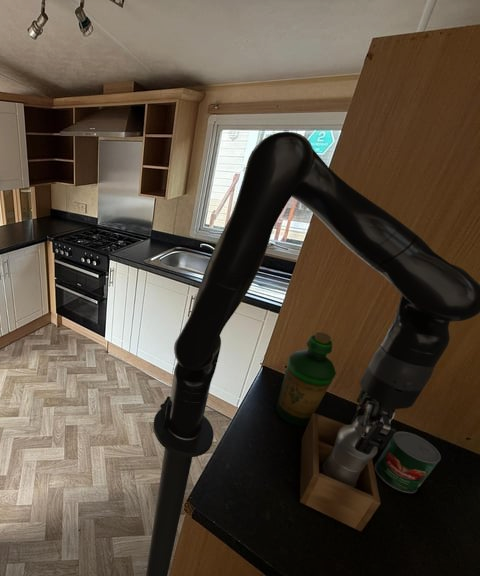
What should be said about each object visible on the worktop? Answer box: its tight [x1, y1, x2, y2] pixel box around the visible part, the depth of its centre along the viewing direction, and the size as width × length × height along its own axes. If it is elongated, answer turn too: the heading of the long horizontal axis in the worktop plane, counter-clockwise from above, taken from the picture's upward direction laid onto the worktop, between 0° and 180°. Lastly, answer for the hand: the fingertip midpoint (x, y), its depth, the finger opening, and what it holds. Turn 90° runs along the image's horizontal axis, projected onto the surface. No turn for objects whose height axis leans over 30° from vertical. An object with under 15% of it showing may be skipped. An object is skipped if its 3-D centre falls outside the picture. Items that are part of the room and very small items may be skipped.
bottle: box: [276, 332, 337, 427], centre depth 85 cm, size 11×11×28 cm
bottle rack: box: [299, 412, 382, 532], centre depth 72 cm, size 11×19×10 cm, turn 148°
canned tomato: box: [374, 430, 442, 494], centre depth 72 cm, size 8×8×11 cm
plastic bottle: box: [319, 416, 379, 488], centre depth 65 cm, size 6×7×20 cm
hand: (359, 438), depth 62 cm, fingers closed on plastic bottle, 6 cm apart
